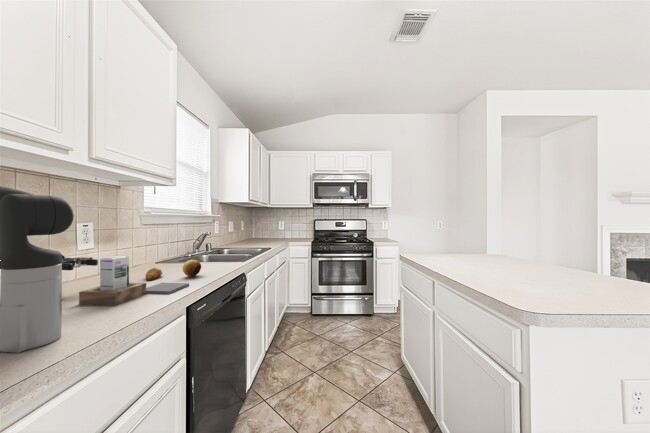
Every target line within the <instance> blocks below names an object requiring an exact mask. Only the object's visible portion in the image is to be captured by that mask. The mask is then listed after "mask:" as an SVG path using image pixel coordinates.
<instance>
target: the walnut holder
mask: <svg viewBox="0 0 650 433" xmlns="http://www.w3.org/2000/svg"><path fill="white" fill-rule="evenodd" d="M146 288H147V283H146V282H129V287H127V288H123V289H120V290H117V291H100V285H98V286H95V287H92V288H89V289H84V290H82V291H80V290H79V292H78V296H79V297H78V304H79V305H90V306H91V305H94V306H97V305H98V306H117V305H118V306H119V305H121V304H123V303H126V302H128V301H131V300H134V299H137V298H139V297H142V296H145V295H147V293H146Z"/></svg>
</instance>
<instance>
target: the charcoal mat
mask: <svg viewBox="0 0 650 433" xmlns="http://www.w3.org/2000/svg"><path fill="white" fill-rule="evenodd" d="M187 287H190V283H189V282H188V283H187V282H183V283H182V282H160V283H156V284H154V285H151V286H148V287H146V294H148V295H149V294H152V295H154V294H155V295H171V294H173V293H176V292H178V291H180V290H183V289H185V288H187Z"/></svg>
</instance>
